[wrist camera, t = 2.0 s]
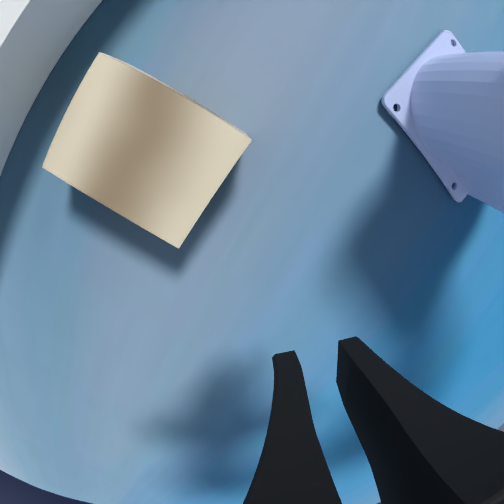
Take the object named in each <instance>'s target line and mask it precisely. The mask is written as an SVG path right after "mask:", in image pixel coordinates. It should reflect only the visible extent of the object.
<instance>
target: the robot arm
mask: <svg viewBox="0 0 504 504" xmlns="http://www.w3.org/2000/svg"><path fill="white" fill-rule="evenodd" d="M451 41H452V43H453V46H452V44H451ZM381 101H382V105H383V106H384V108H385V109H386V110H387V111H388V112H389V113H390V115H391V116H392V117H393V118H394V119H395V120H396V122H397V123H398V124H399V125H400V126H401V128H402V129H403V130H404V131H405V133H406V134H407V135H408V136H409V138H410V139H411V140H412V141H413V143H414V144H415V145H416V147H417V148H418V149H419V150H420V152H421V153H422V154H423V156H424V157H425V158H426V160H427V161H428V163H429V164H430V165H431V167H432V168H433V169H434V171H435V172H436V174H437V175H438V177H439V178H440V179H441V181H442V182H443V184H444V185H445V187H446V188H447V190H448V191H449V193H450V194H451V196H452V198H453V199H454V200H455V201H457V202H461V201H463V199H464V198H465V197H466V196H467V194H468V195H470V196H472V197H474V198H476V199H478V200H480V201H482V202H484V203H486V204H487V205H489V206H491V207H493V208H495V209H497V210H498V211H500V212H502V213H504V51H499V52H473V53H466V52H465V51H464V49H463V48H462V46H461V45H460V44H459V42H458V41H457V39H456V38H455V37H454V35H453V34H452V33H451V32H450V31H448V30H444V31H441V33H440V34H439V35H438V36H437V37H436V38H435V39H434V40H433V41H432V42H431V43H430V45H429V46H428V47H427V48H426V49H425V50H424V51H423V52H422V53H421V54H420V55H419V57H418V58H417V59H416V60H415V61H414V62H413V63H412V64H411V65H410V66H409V68H408V69H407V70H406V71H405V72H404V73H403V74H402V75H401V76H400V77H399V78H398V80H397V81H396V82H395V83H394V84H393V85H392V86H391V87H390V88H389V90H388V91H387V92H386V93H385V94H384V95H383V97H382V100H381ZM394 104H396V105H397V110H396V111H394V109H393V106H394ZM453 183H454V186H453V187H452V184H453ZM272 360H273V367H274V391H273V400H272V409H271V415H270V420H269V425H268V430H267V435H266V439H265V443H264V447H263V450H262V454H261V457H260V460H259V464H258V467H257V469H256V472H255V475H254V478H253V480H252V483H251V486H250V488H249V491H248V493H247V496H246V498H245V500H244V502H243V504H342V503H341V500H340V498H339V495H338V492H337V490H336V487H335V485H334V482H333V479H332V477H331V474H330V471H329V469H328V466H327V463H326V460H325V458H324V455H323V452H322V449H321V446H320V443H319V441H318V438H317V435H316V432H315V428H314V424H313V420H312V415H311V410H310V405H309V401H308V396H307V391H306V386H305V381H304V377H303V372H302V367H301V365H300V362H299V360H298V357H297V355H296V353H295V351H289V352H284V353H279V354H275V355H274V356H273V357H272ZM336 382H337V385H338V389H339V392H340V395H341V398H342V401H343V405H344V407H345V410H346V412H347V414H348V416H349V419H350V421H351V423H352V425H353V427H354V430H355V432H356V434H357V436H358V438H359V440H360V443H361V445H362V447H363V449H364V451H365V454H366V456H367V458H368V461H369V463H370V466H371V469H372V472H373V475H374V478H375V482H376V485H377V488H378V492H379V496H380V499H381V503H382V504H504V432H502V431H499V430H497V429H494V428H491V427H488V426H486V425H483V424H481V423H479V422H477V421H474V420H472V419H470V418H468V417H465V416H463V415H461V414H459V413H457V412H455V411H454V410H452V409H450V408H448V407H446V406H445V405H443V404H441V403H440V402H438V401H436V400H435V399H433V398H432V397H430V396H429V395H427V394H426V393H424V392H423V391H421V390H420V389H419V388H417V387H416V386H414V385H413V384H412V383H410V382H409V381H408V380H407V379H405V378H404V377H403V376H402V375H400V374H399V373H398V372H397V371H395V370H394V369H393V368H392V367H390V366H389V365H388V364H387V363H386V362H385V361H383V360H382V359H381V358H380V357H379V356H378V355H377V354H376V353H374V352H373V351H372V350H371V349H370V348H369V347H368V346H367V345H366V344H365V343H363V342H362V341H361V340H360V339H359V338H358V337H352V338H348V339H344V340H339V341H338V361H337V378H336Z"/></svg>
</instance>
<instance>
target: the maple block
mask: <svg viewBox="0 0 504 504" xmlns="http://www.w3.org/2000/svg"><path fill="white" fill-rule="evenodd" d="M251 141H252V140H251V139H250V138H249V137H248V135H247V134H246V133H245V132H243V131H241V130H240V129H238V128H237V127H235V126H234V125H232V124H231V123H229V122H228V121H226V120H224V119H223V118H221V117H220V116H218V115H217V114H215V113H213V112H212V111H210V110H209V109H207V108H205V107H204V106H202V105H200V104H199V103H197V102H195V101H194V100H192V99H190V98H189V97H187V96H185V95H184V94H182V93H180V92H179V91H177V90H175V89H173V88H172V87H170V86H168V85H166V84H165V83H163V82H161V81H159V80H158V79H156V78H154V77H152V76H150V75H148V74H147V73H145V72H143V71H141V70H139V69H137V68H135V67H134V66H132V65H130V64H128V63H126V62H124V61H122V60H119V59H117V58H114V57H112V56H109V55H107V54H104V53H101V52H99V53H98V55H97V57H96V58H95V60H94V61H93V63H92V65H91V67H90V68H89V70H88V72H87V73H86V75H85V77H84V79H83V80H82V82H81V84H80V86H79V88H78V90H77V91H76V93H75V95H74V97H73V99H72V101H71V103H70V105H69V107H68V109H67V111H66V113H65V115H64V117H63V119H62V121H61V123H60V126H59V128H58V130H57V132H56V134H55V137H54V139H53V141H52V144H51V146H50V148H49V151H48V153H47V156H46V158H45V161H44V163H43V166H42V167H43V168H44V169H46V170H47V171H49V172H51V173H52V174H54V175H55V176H57V177H59V178H60V179H62V180H63V181H65V182H67V183H68V184H70V185H72V186H73V187H75V188H76V189H78V190H80V191H81V192H83V193H85V194H86V195H88V196H90V197H91V198H93V199H95V200H96V201H98V202H100V203H101V204H103V205H105V206H106V207H108V208H110V209H111V210H113V211H115V212H116V213H118V214H120V215H121V216H123V217H125V218H127V219H128V220H130V221H132V222H133V223H135V224H137V225H138V226H140V227H142V228H144V229H145V230H147V231H149V232H151V233H152V234H154V235H156V236H157V237H159V238H161V239H163V240H164V241H166V242H168V243H170V244H171V245H173V246H175V247H177V248H178V249H179V248H180V246H181V244H182V243H183V241H184V240H185V238H186V237H187V235H188V233H189V232H190V230H191V229H192V227H193V226H194V224H195V223H196V221H197V220H198V218H199V217H200V215H201V213H202V212H203V210H204V209H205V207H206V206H207V204H208V203H209V201H210V200H211V198H212V197H213V195H214V194H215V192H216V191H217V190H218V188H219V187H220V185H221V184H222V182H223V181H224V179H225V178H226V176H227V175H228V173H229V172H230V171H231V169H232V168H233V166H234V165H235V163H236V162H237V160H238V159H239V158H240V156H241V155H242V153H243V152H244V151H245V149H246V148H247V146H248V145H249V143H250V142H251Z"/></svg>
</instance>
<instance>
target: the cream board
mask: <svg viewBox="0 0 504 504" xmlns="http://www.w3.org/2000/svg"><path fill="white" fill-rule="evenodd" d="M102 1H103V0H0V176H1V173H2V171H3V168H4V165H5V163H6V160H7V158H8V155H9V153H10V151H11V148H12V146H13V144H14V141H15V139H16V137H17V135H18V133H19V130H20V128H21V126H22V124H23V122H24V120H25V118H26V116H27V114H28V112H29V110H30V108H31V106H32V104H33V102H34V101H35V99H36V97H37V95H38V93H39V92H40V90H41V88H42V86H43V85H44V83H45V81H46V79H47V78H48V76H49V74H50V73H51V71H52V70H53V68H54V66H55V65H56V63H57V62H58V60H59V59H60V57H61V55H62V54H63V52H64V51H65V49H66V48H67V47H68V45H69V44H70V42H71V41H72V39H73V38H74V37H75V35H76V34H77V32H78V31H79V30H80V28H81V27H82V26H83V24H84V23H85V22H86V21H87V19H88V18H89V17H90V15H91V14H92V13H93V12H94V10H95V9H96V8H97V7H98V6H99V4H100V3H101V2H102Z"/></svg>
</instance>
